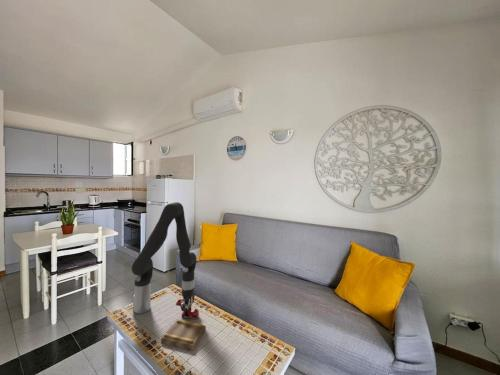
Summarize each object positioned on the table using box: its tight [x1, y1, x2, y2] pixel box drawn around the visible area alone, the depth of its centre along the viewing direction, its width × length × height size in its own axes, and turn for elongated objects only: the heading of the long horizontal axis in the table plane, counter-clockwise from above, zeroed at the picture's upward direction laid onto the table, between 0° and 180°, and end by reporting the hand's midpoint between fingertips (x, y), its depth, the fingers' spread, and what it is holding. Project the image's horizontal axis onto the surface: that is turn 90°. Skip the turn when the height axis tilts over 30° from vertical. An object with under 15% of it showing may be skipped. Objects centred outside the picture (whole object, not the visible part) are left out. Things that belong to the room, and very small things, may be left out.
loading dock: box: [160, 319, 207, 352], centre depth 110 cm, size 18×14×4 cm
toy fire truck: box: [175, 298, 200, 320], centre depth 126 cm, size 3×14×10 cm, turn 84°
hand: (187, 313), depth 126 cm, fingers closed on toy fire truck, 3 cm apart
